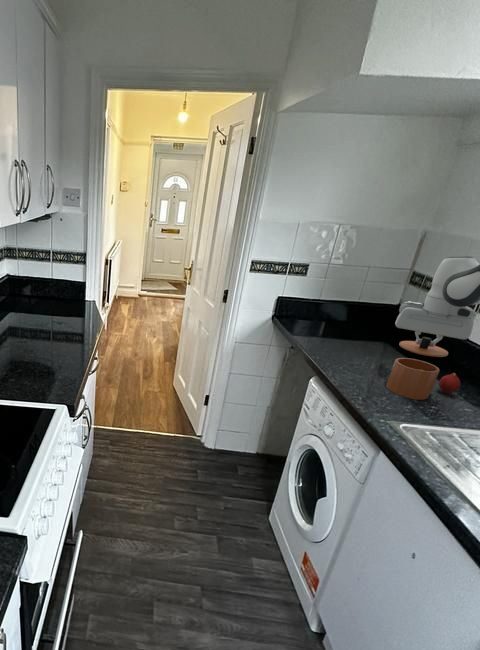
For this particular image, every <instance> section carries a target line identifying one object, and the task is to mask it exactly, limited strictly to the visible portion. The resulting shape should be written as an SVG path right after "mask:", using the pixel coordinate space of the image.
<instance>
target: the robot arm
mask: <svg viewBox="0 0 480 650" xmlns="http://www.w3.org/2000/svg"><path fill="white" fill-rule="evenodd" d="M430 287H431V288H430V290H429V291H428V292H427V294H426V297H425V299H424V302H415V301H410V300H409V301H405V302H403V303H401V304H400V306H399V309H398V313H399V314H398V315H397V317H396V320H395V322H394V324H395V325H394V326H395V327H396V328H397V329H403V330H407V331H408V330H409V331H412V332H413V331H414V334H415V337H416V339H415V344H419V345H421V342H422V338H420V337H419V336H420V335H421V334H422V333H425V334H430V335H436V338H435V339H433V340H431V342H430V344H429V347H435V346H436V344H437V343H439V342H440V341H442V340H443V338H444V337H448V338H452V339H453V338H454V339H458V340H464V341H465V340H467V339H469V338H470V337H471V334H472V331H473V328H474V319H472V318H473V317H474V316H475V315H476V312H475V310H474V309H472V308H471V307H469V306H473V305H480V263H479V261H478V260H477V259H476V258H475V257H473V256H470V255H467V256H464V255H463V256H448V257H445V258H444V259H443V260H442V261H441V263H440V264H439V265H438V267H437V270H436V271H435V274H434V276H433V278H432V282H431V286H430Z"/></svg>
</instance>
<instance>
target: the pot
mask: <svg viewBox="0 0 480 650" xmlns="http://www.w3.org/2000/svg"><path fill="white" fill-rule="evenodd" d="M417 369H418V370H417ZM421 369H422V370H424V371H422V370H421ZM440 371H441V370H440V368H439V367H438V366H437V365H434V364H433V363H430V362H427V361H424V360H420V359H416V358H408V357H398V358H395V359H394V362H393V365H392V368H391V371H390V373H389V375H388V379H387V381H386V385H385V387H386V389H388V390H389V391H390V392H392V393H394V394H395V395H398V396H401V397H404V398H406V399H411V400H418V401H419V400H421V401H422V400H427V399H428V398H429V397H430V395H431V392H432V389H433V388H434V385H435V382H436V380H437V378H438V375H439V374H440Z"/></svg>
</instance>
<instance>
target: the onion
mask: <svg viewBox="0 0 480 650" xmlns="http://www.w3.org/2000/svg"><path fill="white" fill-rule="evenodd" d="M438 387H439V388H440V389H441V391H442V393H443V394H450V393H455V392H456V391H458V390H459V389H460V387H461V380H460V378H459V377H458V376H457V374H456V373H455V372H453V373H451V374H446V375H444V376H442V377H441V378H440V379H439V381H438Z"/></svg>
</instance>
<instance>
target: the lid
mask: <svg viewBox="0 0 480 650" xmlns="http://www.w3.org/2000/svg"><path fill="white" fill-rule="evenodd" d="M421 339H422V342H421V345H419V344H415V342H416V340H402V341H399V344H398V345H399V347H400V348H402V349H403V350H406V351H409V352H410V353H414V354H417V355H422V356H427V357H435V358H444V357H447V356H448V355H449V352H448V350H446V349H445V348H442V347H440V346H437V345H435V347H429V344H430V342H431V341H432V338H431V337H427V336H422V337H421Z"/></svg>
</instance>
